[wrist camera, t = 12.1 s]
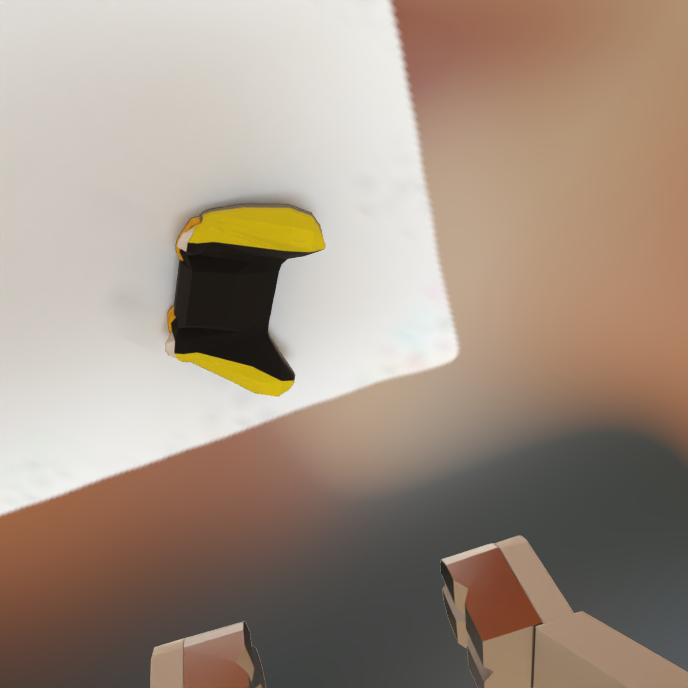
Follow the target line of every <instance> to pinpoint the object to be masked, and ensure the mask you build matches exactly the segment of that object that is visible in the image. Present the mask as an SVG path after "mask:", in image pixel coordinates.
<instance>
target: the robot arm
mask: <svg viewBox="0 0 688 688" xmlns="http://www.w3.org/2000/svg"><path fill="white" fill-rule="evenodd" d="M440 569H441V575H442V576H443V579H444V581H445V584H446V585H445V586H444V588H443V589H442V591H443V597H444V603H445V608H446V611H447V616H448V619H449V621H450V624H451V627H452V629H453V632H454V634H455V637H456V639H457V641H458V643H459V644H461V645H462V646H464V647H465V648H467V652H468V665H469V669H470V671H471V673H472V676H473V678H474V680H475V682H476V684H477V687H478V688H688V672H686V671H684V670H683V669H681V668H679V667H678V666H676V665H674V664H672V663H671V662H669V661H667V660H666V659H664V658H662V657H660V656H659V655H657V654H655V653H654V652H652V651H650V650H648V649H646V648H645V647H643V646H641V645H640V644H638V643H636V642H635V641H633V640H631V639H629V638H628V637H626V636H624V635H622V634H621V633H619V632H617V631H616V630H614V629H612V628H610V627H609V626H607V625H605V624H604V623H602V622H600V621H598V620H597V619H595V618H593V617H591V616H590V615H588V614H586V613H584V612H583V611H581V612H578V613H574V612H573V611H572V609H571V608H570V606H569V605H568V603H567V602H566V600H565V598H564V597H563V595H562V594H561V592H560V591H559V589H558V588H557V586H556V585H555V583H554V581H553V580H552V578H551V577H550V575H549V574H548V572H547V571H546V569H545V568H544V566H543V565H542V563H541V561H540V560H539V558H538V557H537V555H536V554H535V552H534V551H533V549H532V548H531V546H530V544H529V543H528V541H527V540H526V539H525V538H523V537H522V536H516V537H513V538H510V539H507V540H504V541H501V542H498V543H495V544H492V543H491V544H488V545H485V546H482V547H479V548H476V549H473V550H470V551H466V552H463V553H460V554H457V555H454V556H451V557H448V558H445V559H442V560H441V563H440ZM150 679H151V680H150V688H266V685H265V680H264V674H263V669H262V665H261V662H260V659H259V655H258V652H257V650H256V648H255V647H253V646H252V645H251V637H250V631H249V629H248V627H247V624H246V622H245V621H243V622H240V623H237V624H233V625H230V626H226V627H223V628H219V629H216V630H212V631H209V632H205V633H202V634H198V635H195V636H192V637H188V638H184V639H181V640H177V641H174V642H171V643H167V644H164V645H161V646H158V647H155V648H154V651H153V655H152V658H151V678H150Z"/></svg>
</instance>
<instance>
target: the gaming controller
mask: <svg viewBox="0 0 688 688" xmlns="http://www.w3.org/2000/svg"><path fill="white" fill-rule="evenodd" d="M324 249H325V243H324V239H323V235H322V231H321V228H320V225H319V223H318V222H317V220H316V219H315V217H314V216H313V214H312V213H311V212H309V211H306V210H303V209H300V208H297V207H294V206H291V205H289V204H240V205H234V206H228V207H221V208H215V209H210V210H207V211H205V212H202V214H201V215H200V216H198V217H196V218H191V220H190V221H189V222H188V224H187V225H186V227H185V228H184V230H183V231H182V233H181V234H180V235H179V237H178V239H177V242H176V252H177V254H178V256H179V258H180V260H179V269H178V277H177V286H176V294H175V302H174V306H173V307H172V308H171V309H170V310H169V312H168V328H169V332H170V336H169V338H168V340H167V341H166V343H165V351H166V352H167V354H168V355H170V356H173V357H176V358H178V360H180V361H182V362H192V363H194V364H196V365H198V366H200V367H202V368H205V369H207V370H209V371H211V372H213V373H215V374H217V375H220V376H222V377H224V378H226V379H228V380H230V381H232V382H234V383H236V384H238V385H240V386H242V387H244V388H246V389H248V390H250V391H252V392H254V393H257V394H264V395H271V396H277V397H278V396H280V395H281V394H283V393H284V392H286V391H288V390H289V389H290V388H291V386H292V385H293V383H294V380H295V374H294V371H293V370H292V368H291V367H290V365H289V364H288V362H287V361H286V360H285V358H284V357H283V355H282V354H281V352H280V351H279V349H278V348H277V346H276V345H275V343H274V341H273V340H272V338H271V337H270V335H269V333H268V325H269V319H270V314H271V309H272V304H273V299H274V293H275V288H276V283H277V278H278V273H279V270H280V267H281V264H282V263H283V262H284V261H286V260H287V259H289V258H295V257H301V256H306V255H309V254H312V253H315V252H318V251H321V250H324Z"/></svg>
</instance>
